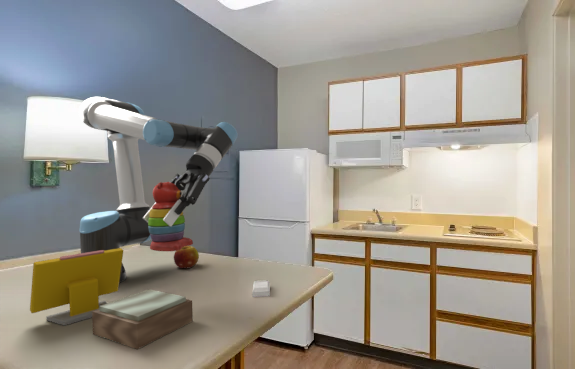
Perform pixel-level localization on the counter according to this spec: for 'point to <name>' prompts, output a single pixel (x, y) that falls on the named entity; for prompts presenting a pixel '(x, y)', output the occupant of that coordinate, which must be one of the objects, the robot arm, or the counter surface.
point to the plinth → (142, 317)
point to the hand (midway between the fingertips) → (156, 222)
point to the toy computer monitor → (75, 283)
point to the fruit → (186, 257)
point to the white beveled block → (261, 288)
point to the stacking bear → (159, 229)
